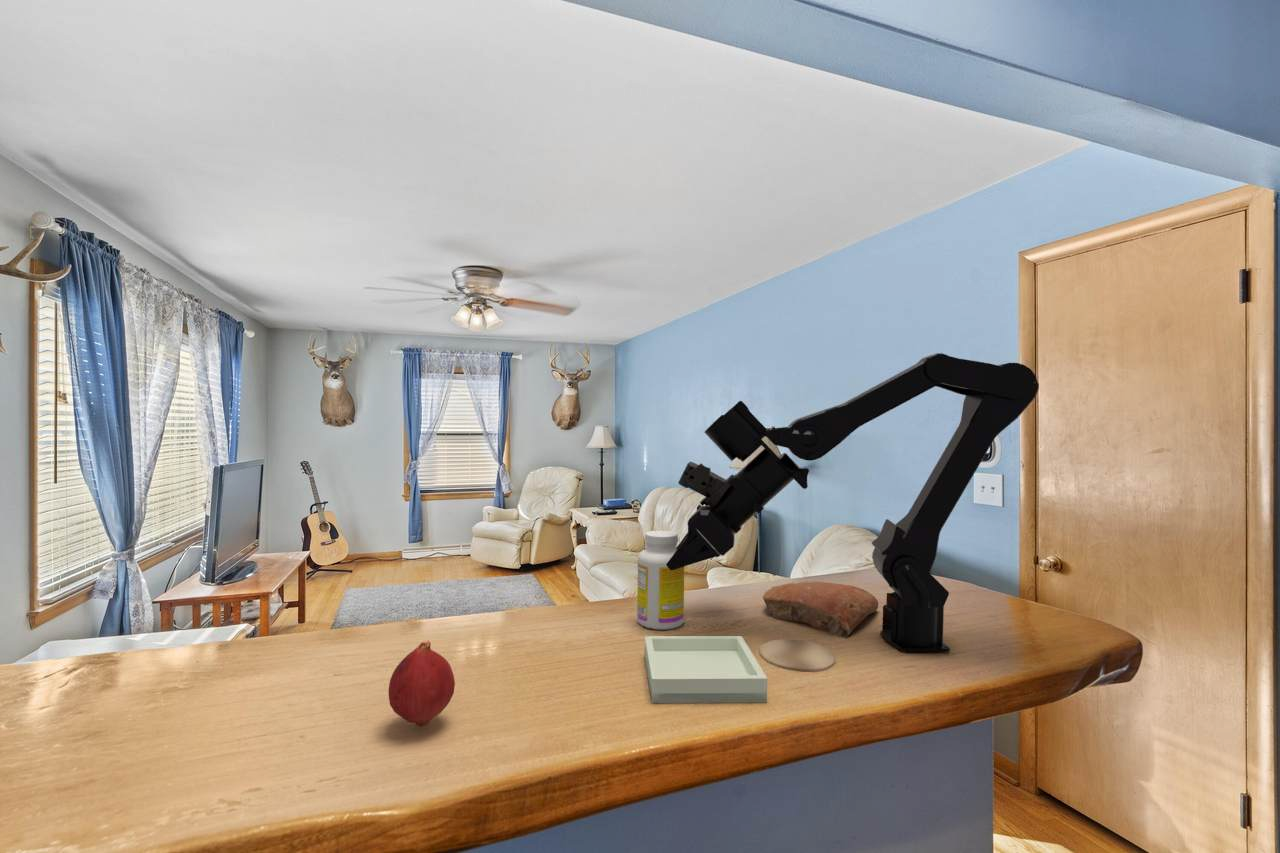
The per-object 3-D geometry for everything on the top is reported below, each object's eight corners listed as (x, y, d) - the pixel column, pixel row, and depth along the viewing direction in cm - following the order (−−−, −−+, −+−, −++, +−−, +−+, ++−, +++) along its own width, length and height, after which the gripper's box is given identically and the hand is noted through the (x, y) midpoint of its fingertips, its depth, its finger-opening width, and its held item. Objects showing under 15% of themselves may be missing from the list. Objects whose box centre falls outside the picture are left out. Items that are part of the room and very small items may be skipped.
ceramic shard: (793, 563, 102) (884, 593, 93) (785, 601, 102) (875, 634, 93) (755, 569, 90) (855, 604, 81) (746, 611, 90) (845, 650, 81)
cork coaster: (819, 642, 80) (819, 639, 80) (846, 671, 71) (846, 667, 71) (752, 642, 79) (752, 639, 79) (771, 671, 70) (771, 668, 70)
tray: (741, 656, 75) (741, 636, 74) (766, 702, 63) (767, 678, 62) (644, 656, 74) (644, 636, 74) (651, 703, 62) (652, 679, 62)
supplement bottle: (690, 619, 88) (692, 531, 87) (673, 634, 82) (675, 540, 81) (648, 612, 90) (649, 527, 90) (628, 626, 84) (630, 535, 84)
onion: (388, 747, 53) (389, 656, 53) (387, 716, 58) (388, 634, 58) (457, 734, 55) (458, 647, 55) (450, 706, 60) (451, 627, 60)
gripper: (718, 440, 93) (646, 507, 96) (709, 446, 75) (620, 529, 77) (768, 494, 92) (694, 560, 94) (772, 513, 74) (679, 595, 76)
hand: (673, 559), depth 86 cm, fingers open, 9 cm apart
